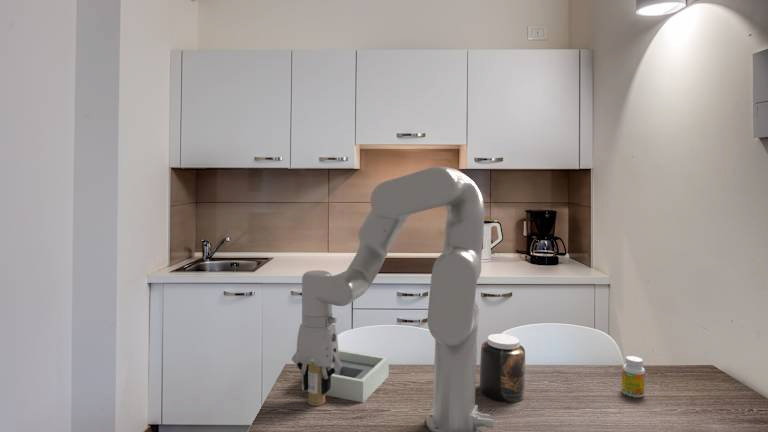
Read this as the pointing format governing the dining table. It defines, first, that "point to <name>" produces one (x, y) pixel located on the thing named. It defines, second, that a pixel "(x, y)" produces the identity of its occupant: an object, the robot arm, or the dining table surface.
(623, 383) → the supplement bottle
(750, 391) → the dining table surface
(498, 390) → the jar
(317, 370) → the sprinkles bottle
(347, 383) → the open box
